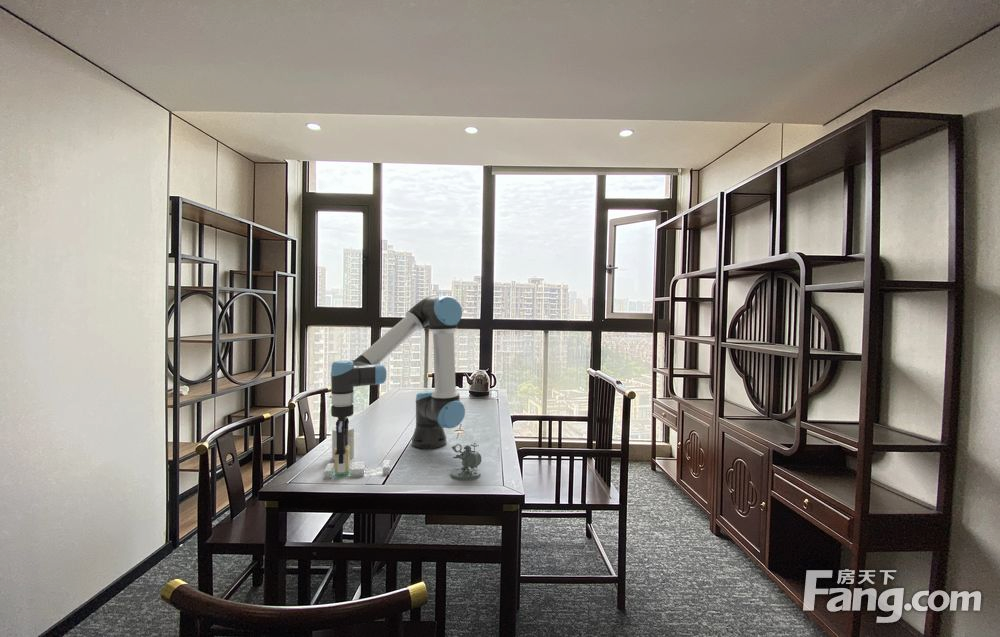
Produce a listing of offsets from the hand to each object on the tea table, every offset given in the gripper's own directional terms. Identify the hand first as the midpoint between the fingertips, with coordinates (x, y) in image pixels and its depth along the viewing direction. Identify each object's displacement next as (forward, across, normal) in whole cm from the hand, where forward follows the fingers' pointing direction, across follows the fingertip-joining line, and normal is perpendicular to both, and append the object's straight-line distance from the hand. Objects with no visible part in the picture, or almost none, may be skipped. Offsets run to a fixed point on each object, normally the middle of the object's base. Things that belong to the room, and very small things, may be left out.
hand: (342, 469), depth 161 cm
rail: (+2, 0, +6) cm, 6 cm away
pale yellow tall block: (0, 0, 0) cm, 0 cm away
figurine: (+2, +8, +43) cm, 44 cm away
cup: (+2, -18, -2) cm, 18 cm away
